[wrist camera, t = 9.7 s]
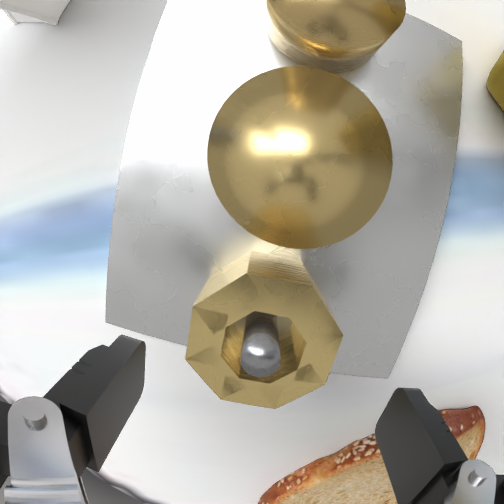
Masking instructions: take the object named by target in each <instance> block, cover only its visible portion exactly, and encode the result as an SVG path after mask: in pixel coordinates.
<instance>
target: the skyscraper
mask: <svg viewBox="0 0 504 504" xmlns="http://www.w3.org/2000/svg"><path fill="white" fill-rule="evenodd" d="M69 2H70V0H0V9H2V10H4V12H5V13H6V14H7V15H8V17H9V18H10V19H11V21H12V22H13V23H14V24H17V23H18V22H42V23H49V24H52V25H57V23H58V22H59V21H58V19H59V17H60V16H61V14H62V13H63V11H64V9H65V8H66V6H67V5H68V3H69Z"/></svg>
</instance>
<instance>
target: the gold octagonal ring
mask: <svg viewBox="0 0 504 504" xmlns="http://www.w3.org/2000/svg"><path fill="white" fill-rule="evenodd" d="M254 311H258V312H263V313H268V314H273V315H278V316H284V317H289V318H290V319H291V321H292V322H293V323H292V326H291V329H290V330H288V331H286V332H284V333H283V334H281V335H279V345H280V357H281V363H280V366H279V368H278V369H277V371H276V372H274V373H273V374H271V375H269V376H265V377H256V376H252V375H250V374H248V373H247V372H246V371H245V370H244V369H243V368H242V366H241V362H240V358H241V351H242V344H243V337H244V335H243V334H242V332H241V331H240V330H239V328H238V327H237V326H236V324H235V322H236V321H238V320H240V319H242V318H243V317H245V316H247V315H249V314H250V313H252V312H254ZM342 338H343V334H342V332H341V330H340V327H339V325H338V323H337V321H336V319H335V317H334V315H333V313H332V311H331V309H330V307H329V305H328V304H327V302H326V300H325V298H324V296H323V295H322V293H321V292H320V290H319V288H318V287H317V285H316V284H315V282H314V280H313V279H312V277H311V275H310V274H309V272H308V271H307V269H306V267H305V266H304V264H303V263H302V261H299V260H295V259H290V258H285V257H280V256H276V255H271V254H266V253H261V252H256V251H252V250H251V251H250V252H248V253H246V254H245V255H243V256H242V257H240V258H239V259H237V260H235V261H234V262H232V263H231V264H229V265H228V266H226V267H224V268H223V269H221V270H220V271H218V272H217V273H215V274H214V275H212V276H210V277H209V279H208V281H207V282H206V284H205V286H204V287H203V289H202V291H201V293H200V294H199V296H198V298H197V300H196V301H195V303H194V305H193V308H192V314H191V321H190V329H189V336H188V343H187V351H186V361H187V362H188V363H189V364H190V365H191V367H192V368H193V369H194V370H195V371H196V372H197V374H198V375H199V376H200V377H201V378H202V379H203V380H204V382H205V383H206V384H207V385H208V386H209V387H210V388H211V389H212V390H213V392H214V393H215V394H216V395H217V396H218V397H219V398H220V399H222V400H227V401H232V402H237V403H243V404H248V405H254V406H260V407H267V408H273V409H276V408H278V407H280V406H283V405H285V404H287V403H289V402H291V401H293V400H295V399H297V398H299V397H301V396H303V395H305V394H307V393H309V392H311V391H313V390H315V389H317V388H319V387H321V386H323V385H325V383H326V380H327V378H328V375H329V373H330V370H331V367H332V365H333V362H334V360H335V357H336V354H337V352H338V349H339V346H340V343H341V341H342Z"/></svg>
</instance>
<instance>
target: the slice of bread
mask: <svg viewBox="0 0 504 504" xmlns="http://www.w3.org/2000/svg"><path fill="white" fill-rule="evenodd" d="M439 412H440V414H441V415H442V417H443V419H444V420H445V424H447V425H448V427H449V428H450V432H452V433H453V435H454V436H455V438H456V440H457V441H458V443H459V445H460V446H461V448H462V450H463V451H464V453H465V455H466V456H467V458H468V460H472V459H475V458H476V456H477V453H478V452H479V450H480V447H481V445H482V442H483V439H484V433H485V418H484V416H483V413H482V411H481V410H480V408H479V407H478V406H472V407H470V408H467V409H462V410H442V411H439ZM258 504H398V503H397V500H396V497H395V494H394V491H393V488H392V485H391V482H390V479H389V476H388V473H387V470H386V467H385V464H384V461H383V458H382V455H381V452H380V450H379V447H378V444H377V441H376V438H375V433H374V434H372V435H370V436H368V437H366V438H363V439H360V440H357V441H355V442H353V443H351V444H349V445H348V446H346V447H344V448H343V449H341V450H340V451H338V452H336V453H334V454H332V455H329V456H326V457H323V458H320V459H317V460H315V461H313V462H311V463H310V464H308V465H306V466H304V467H302V468H300V469H298V470H296V471H295V472H293V473H291V474H290V475H288V476H286V477H285V478H283V479H281V480H279V481H278V482H276V483H275V484H274V485H273V486H271V487H270V488H269V489H268V490H267V491H266V492H265V493H264V494H263V495H262V497H261V498H260V500H259V502H258Z"/></svg>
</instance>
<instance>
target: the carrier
mask: <svg viewBox="0 0 504 504" xmlns="http://www.w3.org/2000/svg"><path fill="white" fill-rule="evenodd" d="M405 11H406V6H405V0H168V3H167V5H166V7H165V10H164V13H163V15H162V18H161V20H160V23H159V26H158V28H157V31H156V34H155V37H154V40H153V43H152V45H151V48H150V51H149V54H148V58H147V61H146V64H145V67H144V70H143V74H142V77H141V81H140V84H139V88H138V91H137V95H136V99H135V103H134V107H133V111H132V115H131V119H130V123H129V127H128V132H127V136H126V141H125V146H124V151H123V156H122V161H121V166H120V172H119V178H118V184H117V190H116V197H115V204H114V211H113V219H112V228H111V237H110V247H109V258H108V272H107V290H106V323H109V324H112V325H115V326H119V327H122V328H125V329H128V330H132V331H135V332H138V333H142V334H145V335H149V336H152V337H156V338H159V339H163V340H167V341H170V342H174V343H178V344H182V345H186V346H187V343H188V336H189V329H190V321H191V314H192V308H193V305H194V303H195V301H196V300H197V298H198V296H199V294H200V293H201V291H202V289H203V287H204V286H205V284H206V282H207V281H208V279H209V277H210V276H212V275H214V274H215V273H217V272H218V271H220V270H221V269H223V268H224V267H226V266H228V265H229V264H231V263H232V262H234V261H235V260H237V259H239V258H240V257H242V256H243V255H245V254H246V253H248V252H250V251H251V250H252V251H256V252H261V253H266V254H271V255H276V256H280V257H285V258H290V259H295V260H299V261H302V263H303V264H304V266H305V267H306V269H307V271H308V272H309V274H310V275H311V277H312V279H313V280H314V282H315V284H316V285H317V287H318V288H319V290H320V292H321V293H322V295H323V296H324V298H325V300H326V302H327V304H328V305H329V307H330V309H331V311H332V313H333V315H334V317H335V319H336V321H337V323H338V325H339V327H340V330H341V332H342V334H343V338H342V341H341V343H340V346H339V349H338V352H337V354H336V357H335V360H334V362H333V365H332V367H331V370H330V373H337V374H345V375H355V376H365V377H376V378H388V377H389V375H390V373H391V370H392V368H393V366H394V364H395V362H396V359H397V357H398V355H399V353H400V350H401V348H402V346H403V343H404V341H405V339H406V336H407V334H408V331H409V329H410V326H411V324H412V321H413V318H414V316H415V313H416V310H417V308H418V305H419V302H420V299H421V297H422V294H423V291H424V288H425V285H426V282H427V279H428V275H429V272H430V269H431V266H432V262H433V259H434V255H435V252H436V248H437V245H438V241H439V237H440V233H441V229H442V225H443V221H444V217H445V212H446V208H447V203H448V198H449V193H450V188H451V183H452V177H453V171H454V165H455V158H456V151H457V143H458V135H459V125H460V114H461V98H462V41H461V40H459V39H457V38H455V37H454V36H452V35H450V34H448V33H446V32H444V31H442V30H440V29H439V28H437V27H435V26H433V25H431V24H429V23H426V22H424V21H422V20H420V19H418V18H416V17H414V16H411V15H409V14H407V13H405ZM292 323H293V322H292V321H291V319H290V318H289V317H284V316H278V315H273V314H268V313H263V312H258V311H254V312H252V313H250V314H249V315H247V316H245V317H243V318H242V319H240V320H238V321H236V322H235V324H236V326H237V327H238V328H239V330H240V331H241V332H242V334H243V335H244V337H243V344H242V351H241V358H240V362H241V366H242V368H243V369H244V370H245V371H246V372H247V373H248V374H250V375H252V376H256V377H265V376H269V375H271V374H273V373H274V372H276V371H277V369H278V368H279V366H280V363H281V357H280V345H279V335H281V334H283V333H284V332H286V331H288V330H290V329H291V326H292Z"/></svg>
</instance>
